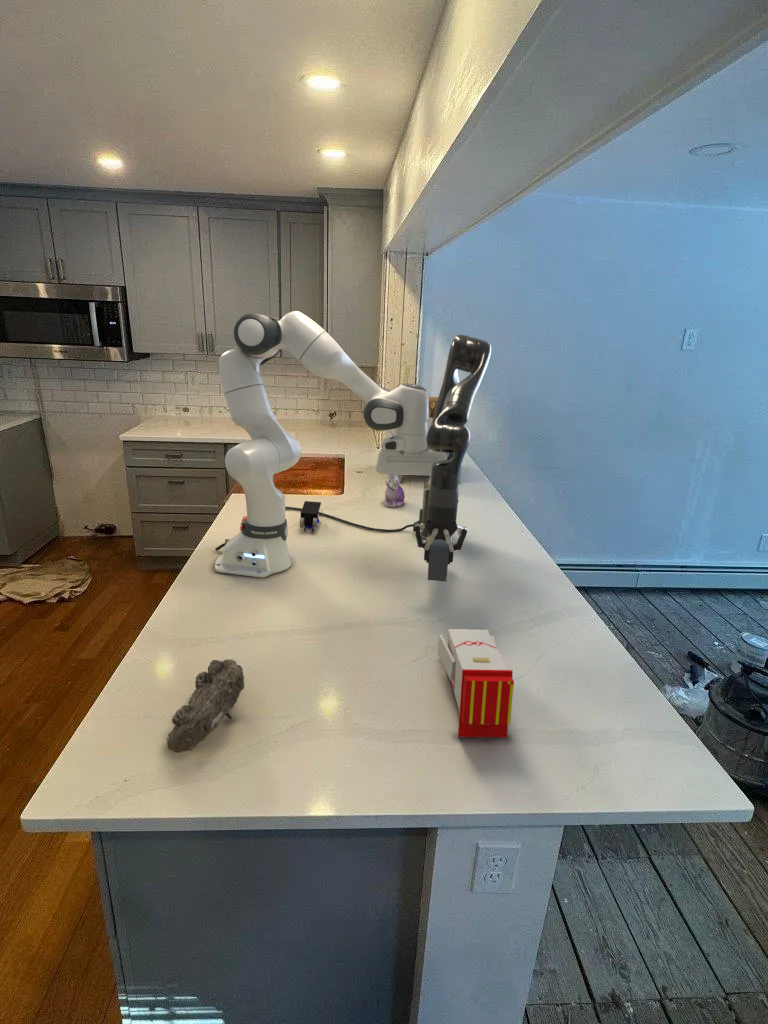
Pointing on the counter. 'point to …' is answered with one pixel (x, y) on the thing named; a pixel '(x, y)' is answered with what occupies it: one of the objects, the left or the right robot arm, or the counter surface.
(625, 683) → the counter surface
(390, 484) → the figurine
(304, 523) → the figurine character
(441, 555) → the bar
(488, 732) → the toy
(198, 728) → the fossil
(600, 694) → the counter surface
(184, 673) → the counter surface
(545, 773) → the counter surface
